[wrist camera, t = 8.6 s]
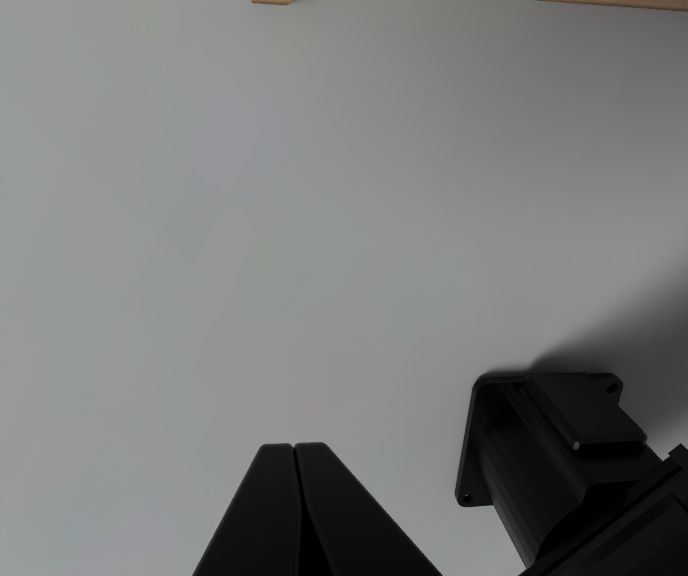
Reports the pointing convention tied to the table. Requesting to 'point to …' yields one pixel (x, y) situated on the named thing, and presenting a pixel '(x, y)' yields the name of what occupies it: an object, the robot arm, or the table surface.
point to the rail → (652, 0)
